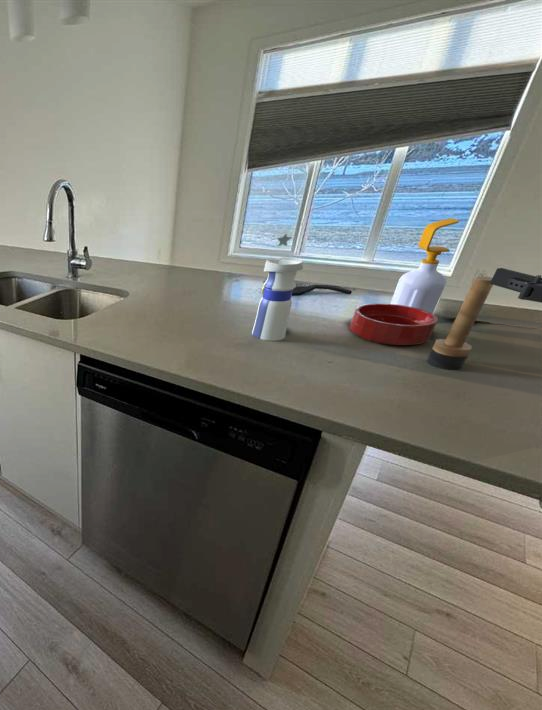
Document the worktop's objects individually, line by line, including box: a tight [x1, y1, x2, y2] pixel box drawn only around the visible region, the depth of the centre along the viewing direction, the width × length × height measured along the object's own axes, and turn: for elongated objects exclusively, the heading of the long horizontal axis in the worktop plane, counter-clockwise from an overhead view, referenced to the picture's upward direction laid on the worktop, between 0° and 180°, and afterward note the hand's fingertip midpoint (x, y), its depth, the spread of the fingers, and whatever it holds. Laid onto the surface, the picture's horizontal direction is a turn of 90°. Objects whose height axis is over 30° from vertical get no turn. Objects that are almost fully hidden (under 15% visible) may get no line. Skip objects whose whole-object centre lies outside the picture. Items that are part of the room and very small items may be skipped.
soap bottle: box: [389, 217, 460, 315], centre depth 103 cm, size 9×9×25 cm
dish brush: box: [426, 275, 494, 371], centre depth 82 cm, size 6×6×19 cm
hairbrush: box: [262, 277, 353, 297], centre depth 130 cm, size 8×4×25 cm
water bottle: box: [251, 232, 304, 342], centre depth 100 cm, size 8×8×25 cm
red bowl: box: [349, 302, 439, 346], centre depth 99 cm, size 15×15×6 cm
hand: (536, 272), depth 70 cm, fingers open, 13 cm apart
